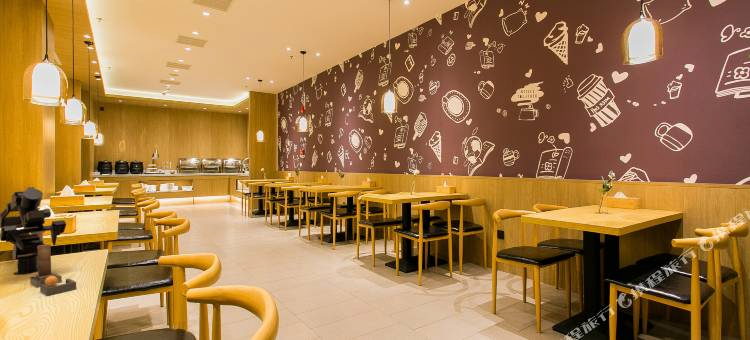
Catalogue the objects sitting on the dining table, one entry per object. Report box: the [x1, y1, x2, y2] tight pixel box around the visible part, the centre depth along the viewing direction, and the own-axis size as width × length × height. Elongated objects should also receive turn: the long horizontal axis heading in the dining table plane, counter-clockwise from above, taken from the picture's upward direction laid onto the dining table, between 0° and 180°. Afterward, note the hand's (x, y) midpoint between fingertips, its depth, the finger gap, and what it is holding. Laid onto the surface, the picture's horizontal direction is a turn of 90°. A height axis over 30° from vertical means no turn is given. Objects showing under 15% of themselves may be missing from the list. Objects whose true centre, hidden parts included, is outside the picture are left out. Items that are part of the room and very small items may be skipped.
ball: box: [45, 276, 58, 287], centre depth 133 cm, size 4×4×4 cm
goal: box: [39, 277, 77, 297], centre depth 129 cm, size 8×8×2 cm
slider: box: [34, 243, 55, 284], centre depth 137 cm, size 6×4×13 cm
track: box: [29, 271, 63, 288], centre depth 137 cm, size 8×7×2 cm
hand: (39, 247), depth 141 cm, fingers open, 9 cm apart
